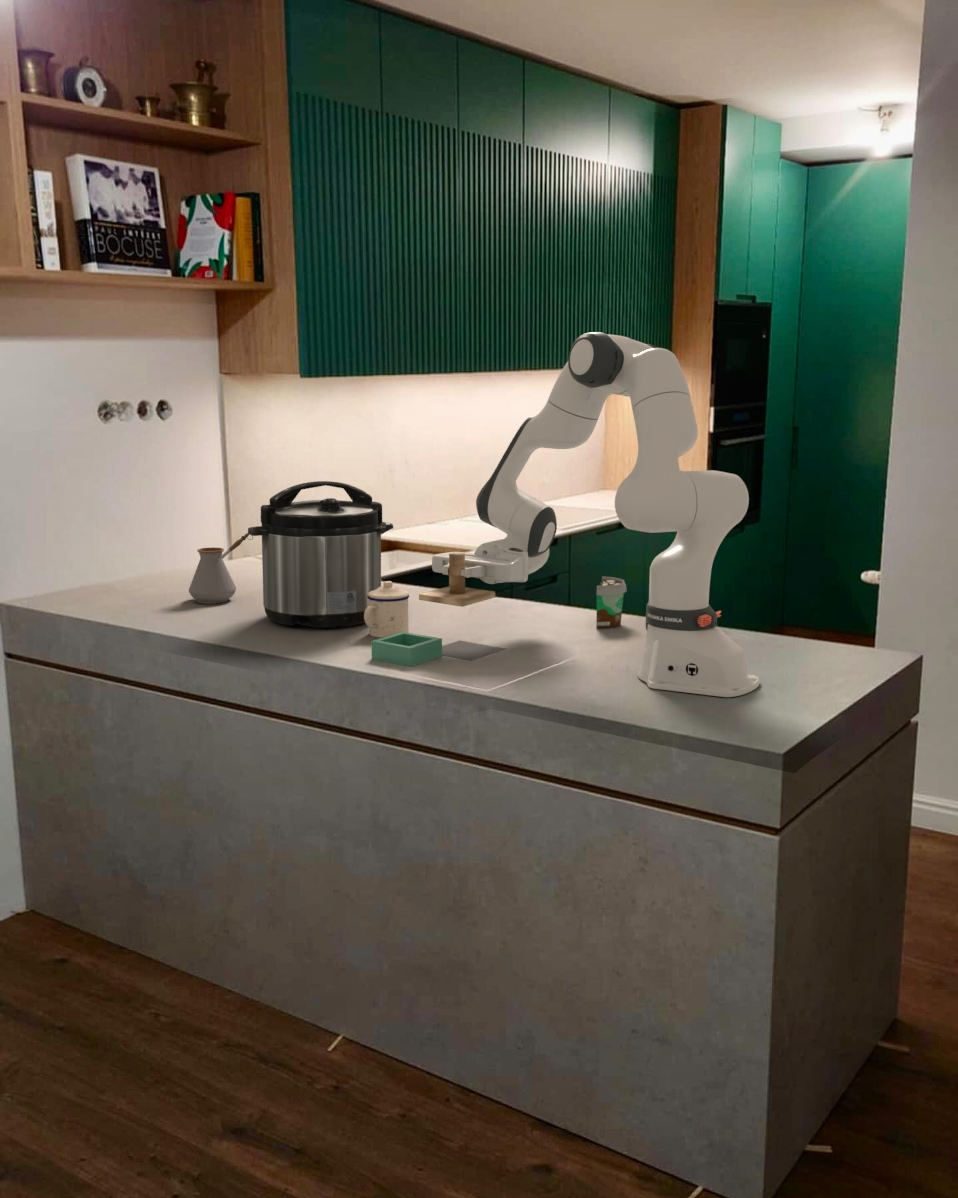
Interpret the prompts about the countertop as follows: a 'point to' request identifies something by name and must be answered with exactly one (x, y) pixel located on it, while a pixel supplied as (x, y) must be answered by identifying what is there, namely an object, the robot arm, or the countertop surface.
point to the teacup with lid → (387, 611)
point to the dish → (406, 648)
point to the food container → (610, 602)
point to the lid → (456, 587)
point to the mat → (468, 650)
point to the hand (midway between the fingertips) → (454, 572)
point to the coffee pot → (213, 576)
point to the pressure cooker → (320, 556)
